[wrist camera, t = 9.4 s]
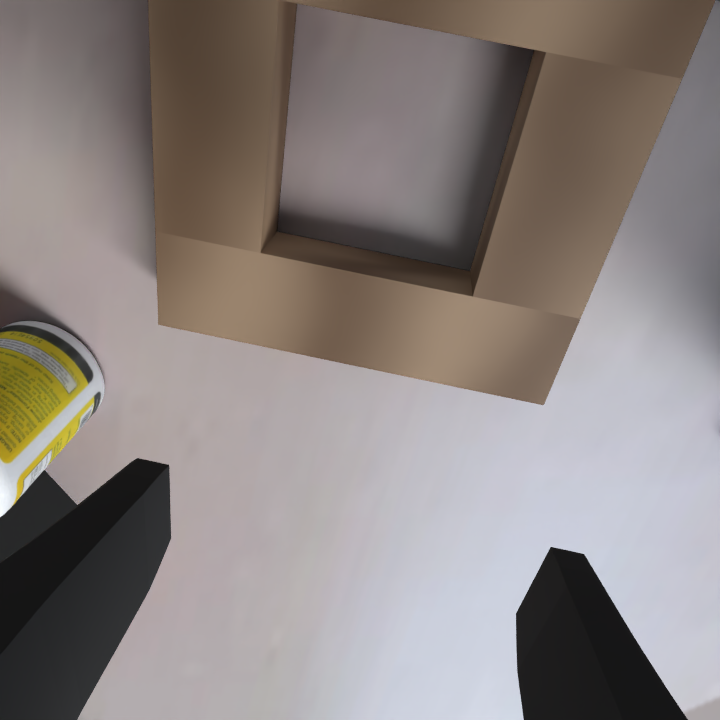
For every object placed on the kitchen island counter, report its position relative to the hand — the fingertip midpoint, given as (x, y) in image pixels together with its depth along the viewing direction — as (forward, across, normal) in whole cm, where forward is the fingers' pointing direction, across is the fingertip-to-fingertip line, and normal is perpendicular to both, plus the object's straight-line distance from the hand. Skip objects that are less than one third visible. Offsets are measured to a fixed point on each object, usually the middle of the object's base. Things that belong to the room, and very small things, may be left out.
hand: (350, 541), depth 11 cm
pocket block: (+10, +1, -5) cm, 12 cm away
